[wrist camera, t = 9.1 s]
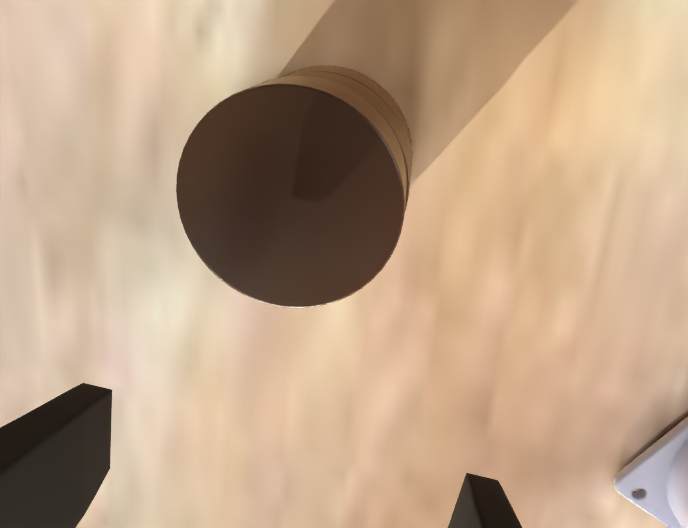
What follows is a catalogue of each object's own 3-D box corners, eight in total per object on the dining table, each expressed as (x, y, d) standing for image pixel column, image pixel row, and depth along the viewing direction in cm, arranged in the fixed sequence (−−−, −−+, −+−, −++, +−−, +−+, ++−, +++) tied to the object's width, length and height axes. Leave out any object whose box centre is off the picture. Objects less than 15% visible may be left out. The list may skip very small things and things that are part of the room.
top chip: (450, 161, 15) (454, 181, 14) (330, 312, 18) (319, 347, 16) (271, 28, 15) (249, 30, 13) (168, 202, 17) (137, 225, 15)
